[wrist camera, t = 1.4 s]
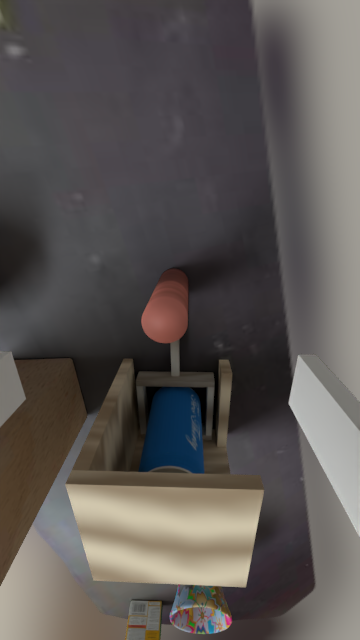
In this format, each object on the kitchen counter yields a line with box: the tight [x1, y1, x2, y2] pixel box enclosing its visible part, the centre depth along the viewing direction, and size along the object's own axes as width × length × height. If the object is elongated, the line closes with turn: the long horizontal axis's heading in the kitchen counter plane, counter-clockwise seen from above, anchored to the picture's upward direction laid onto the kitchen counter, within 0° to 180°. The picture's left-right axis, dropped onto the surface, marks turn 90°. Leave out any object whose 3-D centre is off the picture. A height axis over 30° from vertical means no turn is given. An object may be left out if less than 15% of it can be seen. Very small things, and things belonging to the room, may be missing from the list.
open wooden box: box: [66, 359, 264, 587], centre depth 26 cm, size 13×13×16 cm
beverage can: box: [138, 387, 204, 474], centre depth 28 cm, size 6×6×12 cm
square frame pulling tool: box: [136, 268, 215, 440], centre depth 26 cm, size 23×10×11 cm, turn 1°
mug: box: [170, 584, 232, 634], centre depth 42 cm, size 12×9×11 cm
